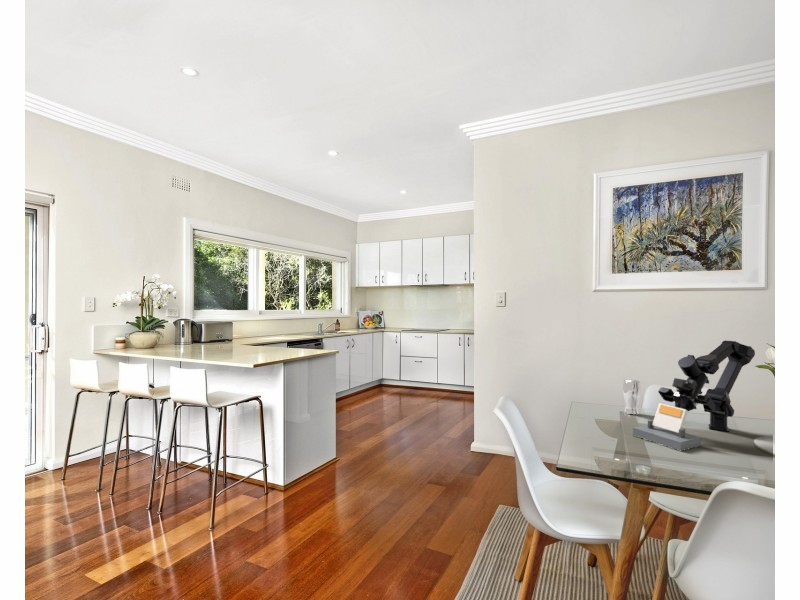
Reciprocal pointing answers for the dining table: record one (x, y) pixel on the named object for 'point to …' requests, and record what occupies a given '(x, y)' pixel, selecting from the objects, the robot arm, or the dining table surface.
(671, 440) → the base
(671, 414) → the panel
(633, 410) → the beer glass
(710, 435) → the dining table surface
